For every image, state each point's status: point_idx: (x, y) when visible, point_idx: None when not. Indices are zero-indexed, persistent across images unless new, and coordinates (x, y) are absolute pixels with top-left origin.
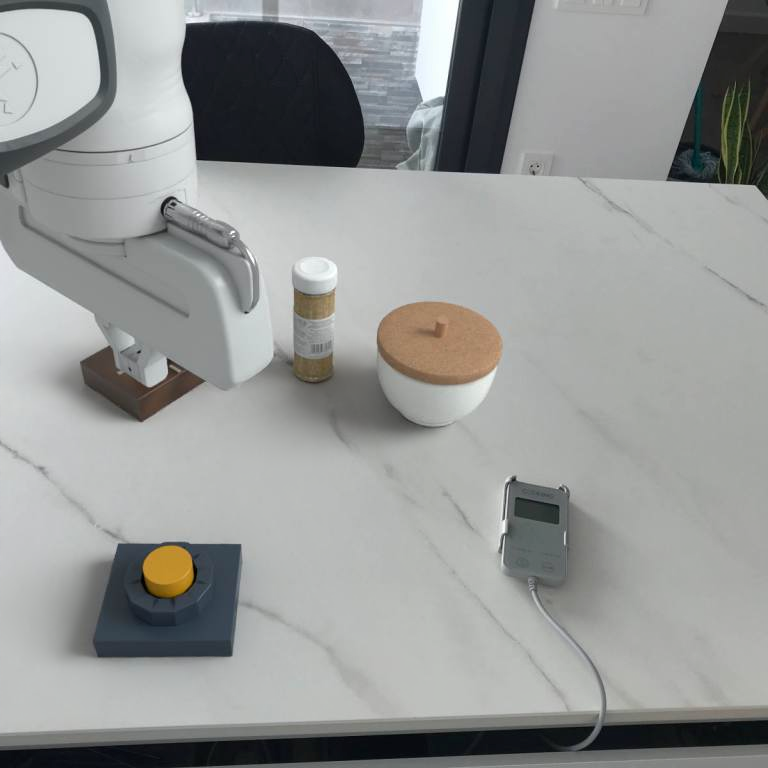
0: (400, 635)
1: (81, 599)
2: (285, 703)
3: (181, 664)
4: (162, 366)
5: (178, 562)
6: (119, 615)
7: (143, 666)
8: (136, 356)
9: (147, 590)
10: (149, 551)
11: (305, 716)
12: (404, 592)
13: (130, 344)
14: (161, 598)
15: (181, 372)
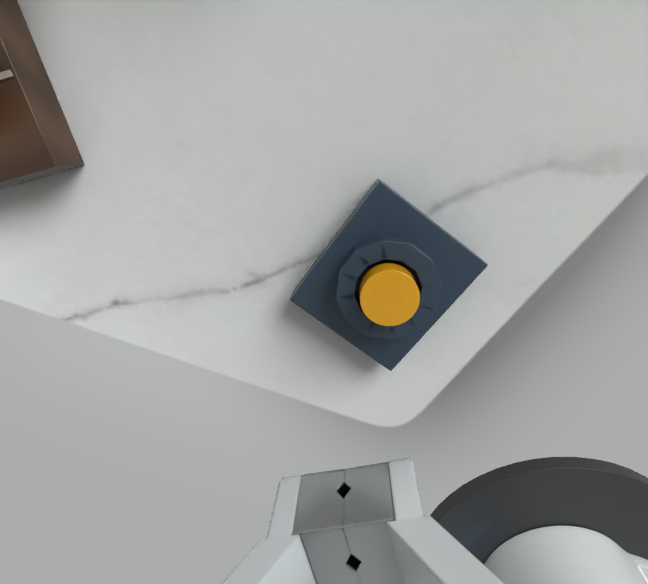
0: (606, 73)
1: (317, 341)
2: (562, 242)
3: None
4: (420, 500)
5: (396, 287)
6: (380, 339)
7: None
8: (368, 575)
9: None
10: (341, 293)
11: (589, 233)
12: (566, 20)
13: (308, 574)
14: None
15: (13, 70)
